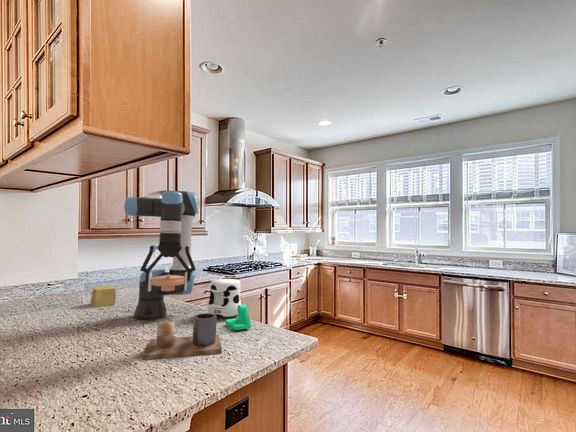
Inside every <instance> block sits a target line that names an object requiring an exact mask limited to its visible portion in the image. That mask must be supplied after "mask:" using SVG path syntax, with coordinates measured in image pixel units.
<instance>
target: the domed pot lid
mask: <svg viewBox="0 0 576 432" xmlns="http://www.w3.org/2000/svg"><path fill="white" fill-rule="evenodd" d="M183 284H185V277H183V276H176V275H166V276H156V277H152V278H151V285H154V286H161V291H174V290H175V286H178V285H183Z"/></svg>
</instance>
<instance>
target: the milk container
mask: <svg viewBox="0 0 576 432" xmlns="http://www.w3.org/2000/svg"><path fill="white" fill-rule="evenodd" d="M209 286H210V288H209V298H208V299H209V300H208V303H207V313H212V314H215V315H216V316H217V319H232V318H235V317H238V312H237V307H238V305H242V302H241V301H242V300H241V280H239V279H234V278H233V279H232V278H217V279H212V280H211V281H210V285H209Z"/></svg>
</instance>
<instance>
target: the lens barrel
mask: <svg viewBox="0 0 576 432" xmlns="http://www.w3.org/2000/svg"><path fill="white" fill-rule="evenodd" d="M217 319H218V318H217V316H216V315H215V314H212V313H208V312H206V313H205V312H204V313H198V314H195V315H193V320H192V336H193V340H192V343H193V345H195V346H200V347H205V346H210V345H213V344H214V343H215V342H216V335H217Z"/></svg>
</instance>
